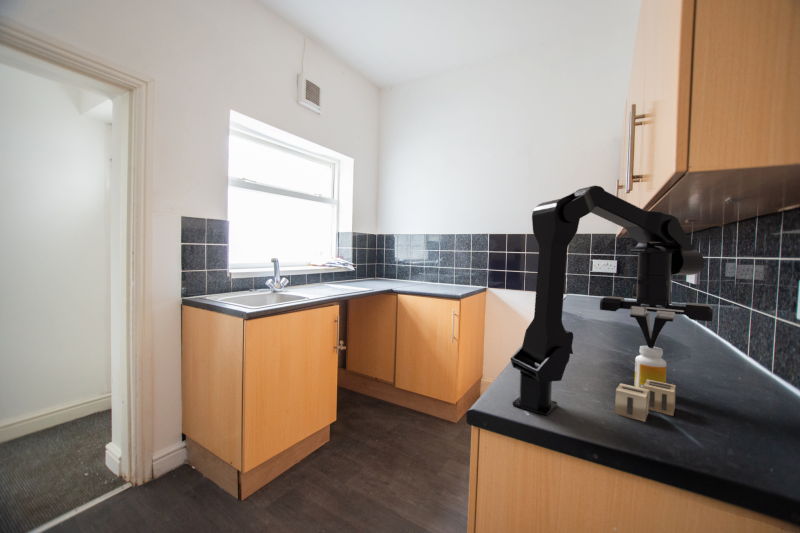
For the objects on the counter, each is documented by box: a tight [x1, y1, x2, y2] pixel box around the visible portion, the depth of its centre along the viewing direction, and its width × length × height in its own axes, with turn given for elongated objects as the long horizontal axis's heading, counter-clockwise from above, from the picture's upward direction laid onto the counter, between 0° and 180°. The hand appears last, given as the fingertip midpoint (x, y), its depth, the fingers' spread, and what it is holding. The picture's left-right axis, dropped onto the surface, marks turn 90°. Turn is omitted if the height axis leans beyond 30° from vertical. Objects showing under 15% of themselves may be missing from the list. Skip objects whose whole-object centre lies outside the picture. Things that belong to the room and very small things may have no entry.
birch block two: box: [644, 379, 676, 416], centre depth 64 cm, size 5×4×5 cm
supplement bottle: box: [633, 345, 667, 389], centre depth 72 cm, size 5×5×10 cm
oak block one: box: [614, 382, 649, 423], centre depth 62 cm, size 5×4×5 cm
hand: (650, 347), depth 71 cm, fingers closed
